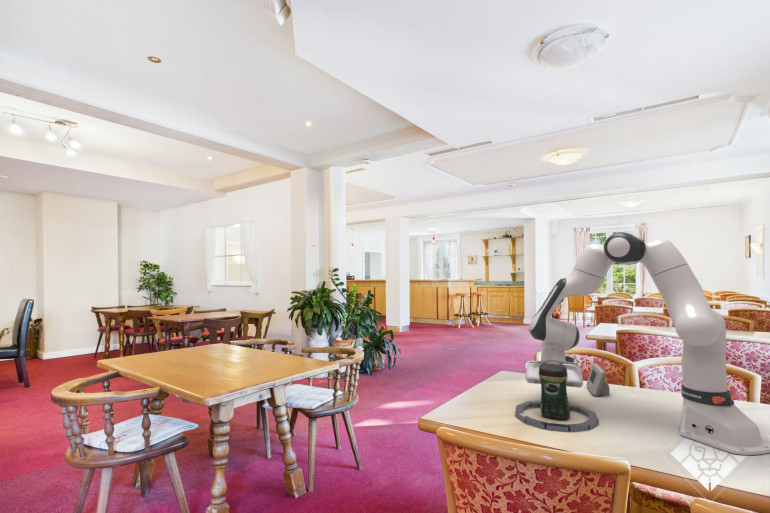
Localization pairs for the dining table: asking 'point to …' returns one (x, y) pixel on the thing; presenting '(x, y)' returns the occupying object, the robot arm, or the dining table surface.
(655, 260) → the robot arm
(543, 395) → the coffee jar
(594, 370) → the digital clock
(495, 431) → the dining table surface
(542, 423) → the grey segmented ring
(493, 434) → the dining table surface
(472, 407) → the dining table surface
